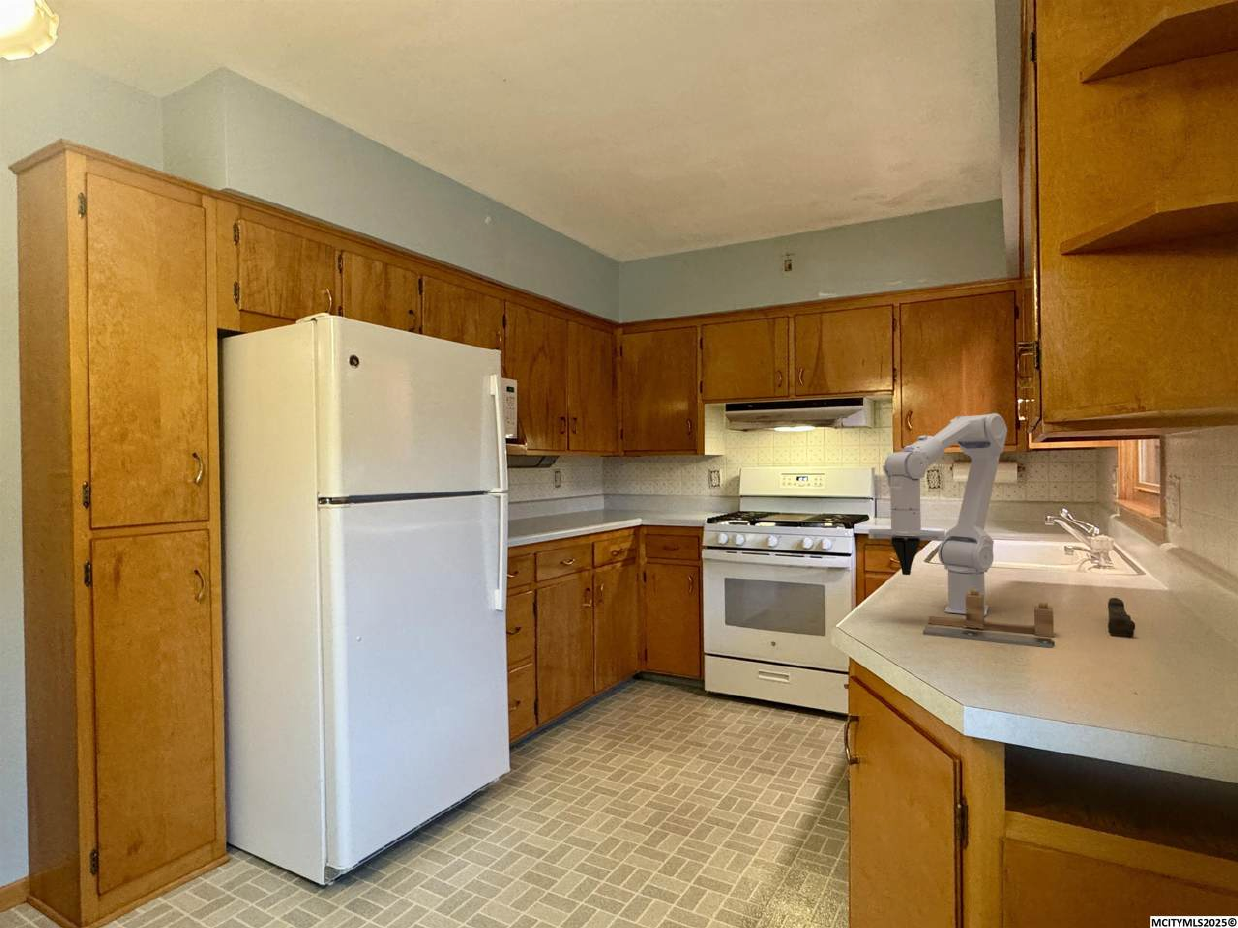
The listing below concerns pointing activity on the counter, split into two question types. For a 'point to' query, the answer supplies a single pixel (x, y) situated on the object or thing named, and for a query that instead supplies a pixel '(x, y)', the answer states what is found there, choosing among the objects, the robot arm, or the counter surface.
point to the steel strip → (990, 636)
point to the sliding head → (975, 609)
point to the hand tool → (1119, 620)
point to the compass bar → (1040, 628)
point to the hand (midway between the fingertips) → (906, 574)
